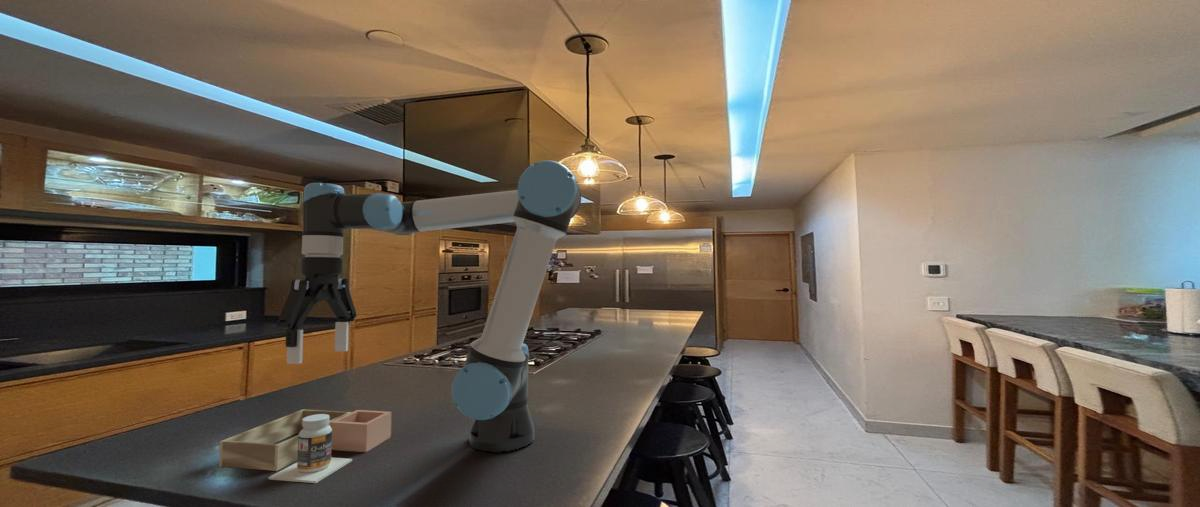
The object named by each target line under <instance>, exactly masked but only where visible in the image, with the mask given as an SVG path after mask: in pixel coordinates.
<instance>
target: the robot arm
mask: <svg viewBox="0 0 1200 507" xmlns="http://www.w3.org/2000/svg"><path fill="white" fill-rule="evenodd" d="M517 184H518V185H517V189H515V190H505V191H504V190H503V191H496V192H487V193H485V192H483V193H478V194H477V193H476V194H469V195H468V194H467V195H457V196H449V197H448V196H447V197H439V198H430V199H421V200H412V201H410V200H409V201H404V202H403V201H402V202H401V201H400V200H399V198H398V197H397V196H396V195H394V194H391V193H390V194H389V193H381V192H376V193H346V192H345V189H344V187H343V186H341V185H338V184H335V183H327V182H325V183H323V182H311V183H308V184H306V185H305V187H304V188H303V199H302V202H301V205H302V232H301V233H302V234H301V236H302V237H301V238H302V239H301V240H302V241H301V254H302V255H304V257H302V258H301V259H300V274H301V275H303V276H304V279H292V280H291V282H290V290H289V293H288V296H287V297H286V300H285V303H284V305H283V308H282V309H281V312H280V314H279V317H278V319H277V322H276V324H275V325H276V328H278V329H280V331H285V347H286V364H291V365H292V364H293V365H294V364H295V365H296V364H297V365H300V364H303V353H304V352H303V348H304V329H300V328H301V327H302V325H303V324H304V322H305V320H306V319H307V317H308V316H309V314H310V312H311V311H312V309H313V308H314V307H315V306H314V305H315V304H317V303H319V301H320V302H321V301H325V302H327V304H328V305H329V307H330V308H331V310H332V312H333V314H334V316H335V317H336V319H337V320H338V321H335V332H334V352H349V335H350V323H351V322H354V321H355V319H356V317H357V311H356V308H355V305H354V302H353V299H352V295H351V291H350V289H349V280H348V278H338V276H340V275H342V274H343V261H344V260H343V258H342V257H341V256H343V255H344V230H353V229H354V230H373V231H378V232H383V233H389V234H393V235H394V234H395V235H397V236H409V235H413V234H415V233H419V232H427V231H430V232H431V231H438V230H448V229H457V228H459V229H460V228H467V227H479V226H487V225H497V224H499V225H500V224H506V223H514V224H515V225H516V230H515V232H514V237H513V239H512V242H511V245H510V246H511V247H510V249H509V252H508V254H507V255H508V256H507V259H506V260H505V263H504V267H503V270H502V274H501V276H500V278H499V279H500V280H499V283H498V284H497V285H498V286H497V288H496V291H495V295H494V297H493V300H492V304H491V307H490V309H489V313H488V316H487V319H486V322H485V324H484V328H483V332H482V334H481V336H480V337H479V338H477V339H475V340H473V341H472V342H471V344H470V347H469V350H468V352H467V355H466V359H465V361H464V365H463V366H462V367H460V368H459V370H458V371H457V372H456V374H455V376H454V378H453V381H452V384H451V387H450V388H451V389H450V390H451V396H452V397H451V398H452V401H453V403H454V404H455V406H456V408H457V409H458V411H459V412H461V413H462V414H463V415H464V416H465V417H467V418H470V419H473V422H472V425H471V428H470V430H469V439H468V440H469V443H470V444H469V446H470V447H471V446H472V447H471V448H473V447H474V448H473V449H475V448H476V449H475V450H477V449H479V450H478V451H480V450H483V451H482V452H485V451H491V452H490V453H502V452H501V451H507V452H510V451H509V450H513V451H515V450H514V449H517V450H519V449H518V448H521V447H523V446H526V445H528V444H530V443H531V442H532V441H533V440H534V441H535V426H534V422H533V419H532V416H531V413H530V410H529V406H528V404H529V403H528V402H529V400H528V399H529V398H528V397H529V394H528V393H529V359H530V354H529V347H528V345H527V344H526V343H524V341H525V338H526V335H527V332H528V329H529V326H530V323H531V319H532V317H533V313H534V311H535V307H536V304H537V302H538V299H539V295H540V292H541V289H542V286H543V283H544V279H545V276H546V274H547V271H548V267H549V264H550V261H551V257H552V256H553V252H554V250H555V249H554V248H555V246H556V243H557V241H558V240H559V239H562V237H565V236H566V235H567V232H568V229H569V227H570V223H571V219H572V218H574V216H576V215H577V213H578V212H579V210H580V207H581V203H582V193H581V189H580V187H579V185H578V180H577V178H576V175H574V173H573V172H572V171H571V170H570V169H569V168H568V167H567V166H565V165H564V164H562V163H561V162H559V161H556V160H550V159H549V160H547V159H546V160H540V161H537V162H534V163H532V164H531V165H529V166H528V167H527V168H526V169H525V170H524V171H523V172H522V174H521V175H520V177H519V179H518V183H517ZM534 441H533V442H534ZM533 442H532V443H533ZM532 443H531V444H532ZM531 444H530V445H531ZM528 446H529V445H528ZM526 447H527V446H526ZM521 449H522V448H521Z"/></svg>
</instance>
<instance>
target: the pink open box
mask: <svg viewBox="0 0 1200 507" xmlns="http://www.w3.org/2000/svg"><path fill="white" fill-rule="evenodd" d="M392 412H393V411H383V410H382V411H381V410H366V409H365V410H364V409H357V410H354V411H351V413H349V414H347V415H345V416H343V417H341V418H339V419H336V420H334V421H332V422H330V427H331V428H332V448H331V451H344V452H359V453H367V452H369V451H371V450H373V449H374V448H375V447H377V446H379V445H381V444H382V443H384V442H385V441H387V440H389V439H390V438H392Z"/></svg>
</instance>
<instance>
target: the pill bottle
mask: <svg viewBox="0 0 1200 507" xmlns="http://www.w3.org/2000/svg"><path fill="white" fill-rule="evenodd" d="M328 423H329V415H327V414H316V415H311V416H307V417H305V418H303V419H302V426H303V429H302V430H301V431H300V432H298V434H297V435H298V457H297V461H296V463H297V469H298V471H300V472H303V473H310V472H316V471H320V470H322V469H325V468H326V467H328V466H329V465H330V463H331V457H332V450H331V448H332V428H331V427H330V426H329V425H328Z"/></svg>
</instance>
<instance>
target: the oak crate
mask: <svg viewBox="0 0 1200 507" xmlns="http://www.w3.org/2000/svg"><path fill="white" fill-rule="evenodd" d="M349 413H352V411H338V410H323V409H305V408H303V409H301V410H297V411H295V412H292V413H290V414H288V415H285V416H282V417H280V418H277V419H275V420H272V421H270V422H267V423H264V424H261V425H259V426H256V427H253V428H252V429H248V430H246V431H244V432H239V433H238V434H236V435H233V436H231V437H227V438H225V439H223V440H220V441H219V460H218V461H219V462H218V464H219V465H218V467H223V468H224V467H225V468H235V469H249V470H259V471H273V472H279V470H280V471H281V470H283V468H284V469H285V468H287V467H289V466H290V465H292V464H294V463H296V462H297V457H298V435H299V432H300V431H301V430H302V429H303V426H302V419H303V418H305V417H307V416H311V415H316V414H327V415H329V423H328V425H329V426H330V422H332V421H334V420H336V419H339V418H341V417H343V416H345V415H347V414H349ZM296 434H297V435H296ZM293 435H295V436H293ZM291 436H293V437H291ZM289 437H291V438H289ZM287 438H288V439H287ZM285 439H286V440H285ZM282 440H284V441H282ZM280 441H282V442H280ZM278 442H279V443H278Z"/></svg>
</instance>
